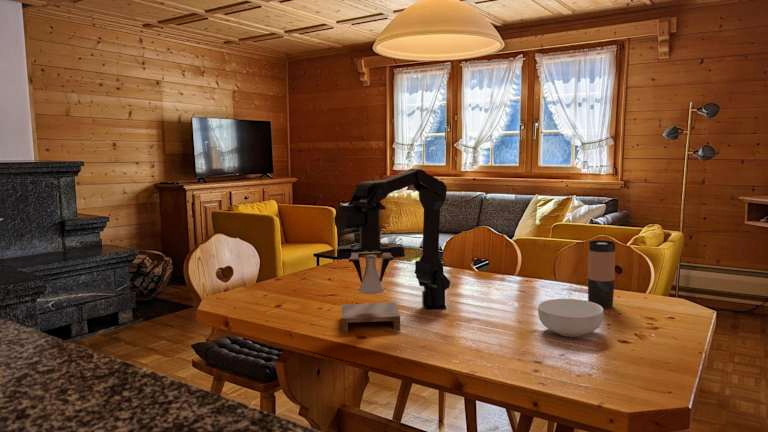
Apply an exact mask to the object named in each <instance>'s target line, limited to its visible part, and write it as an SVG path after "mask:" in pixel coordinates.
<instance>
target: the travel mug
mask: <svg viewBox="0 0 768 432" xmlns="http://www.w3.org/2000/svg"><path fill="white" fill-rule="evenodd" d="M588 244H589V245H588V262H587V263H588V264H587V265H588V268H587V269H588V271H587V291H588V292H587V301H589V302H593V303H596V304H598V305H600V306H601V307H602V308H603V310H608V309H609V310H610V309H612V308H613V306H614V293H615V292H614V291H615V273H616V272H615V269H616V264H615V263H616V242H614V241H611V240H599V239H598V240H597V239H596V240H590V241H589V243H588Z"/></svg>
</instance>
